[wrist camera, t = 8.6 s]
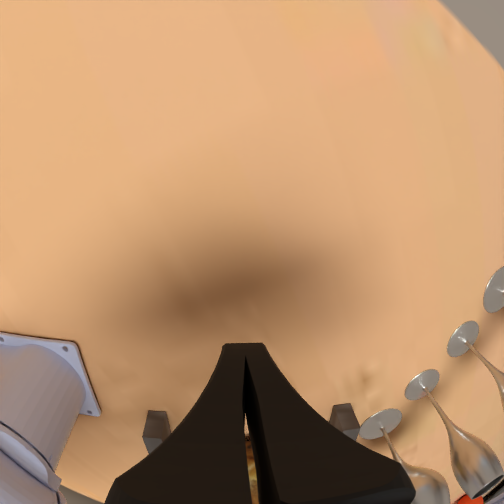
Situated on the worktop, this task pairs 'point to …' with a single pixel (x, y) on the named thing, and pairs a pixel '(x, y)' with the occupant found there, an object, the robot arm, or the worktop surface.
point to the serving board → (500, 491)
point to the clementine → (470, 500)
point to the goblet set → (461, 442)
